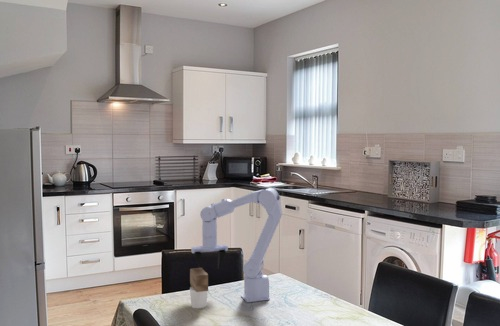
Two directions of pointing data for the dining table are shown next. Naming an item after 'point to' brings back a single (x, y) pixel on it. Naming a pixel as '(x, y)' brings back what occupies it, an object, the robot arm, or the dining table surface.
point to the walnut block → (198, 279)
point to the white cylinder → (198, 298)
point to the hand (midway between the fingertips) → (209, 269)
